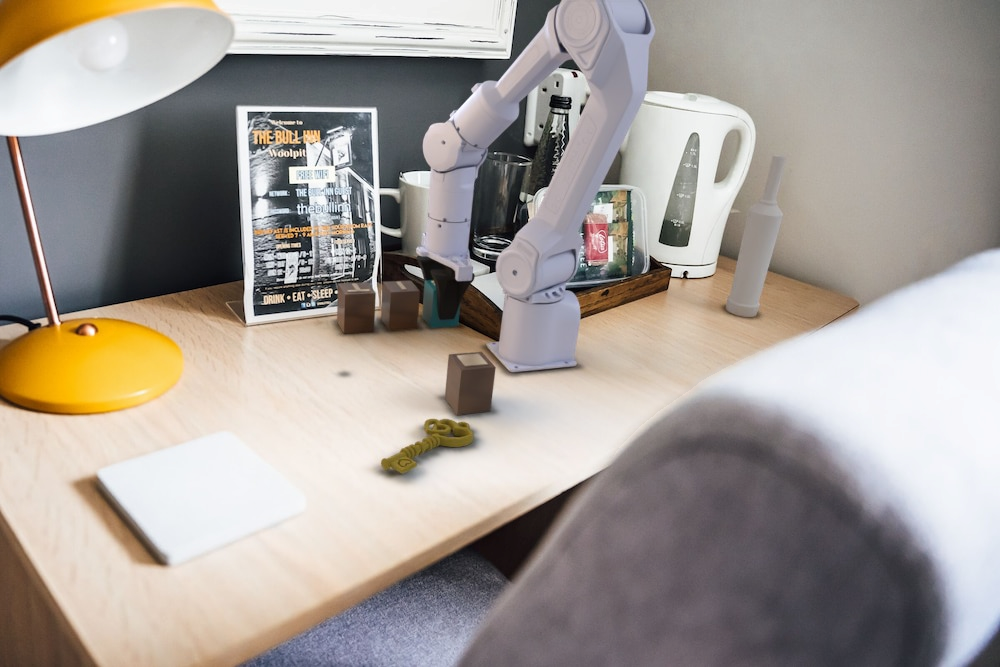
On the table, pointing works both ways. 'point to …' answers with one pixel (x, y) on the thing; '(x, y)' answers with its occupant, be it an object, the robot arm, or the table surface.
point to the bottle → (757, 246)
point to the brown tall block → (469, 383)
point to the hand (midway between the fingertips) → (441, 312)
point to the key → (430, 443)
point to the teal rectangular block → (435, 308)
